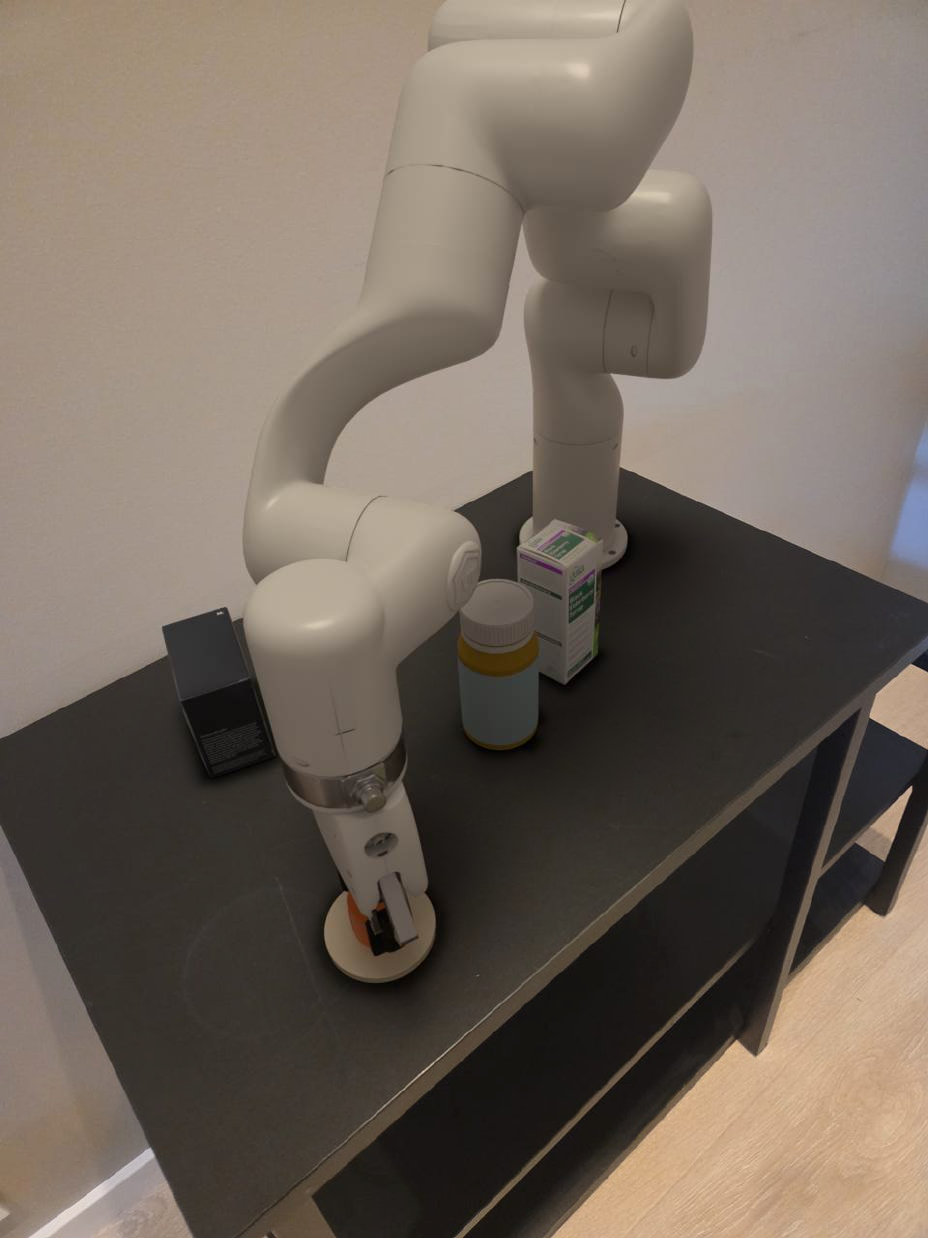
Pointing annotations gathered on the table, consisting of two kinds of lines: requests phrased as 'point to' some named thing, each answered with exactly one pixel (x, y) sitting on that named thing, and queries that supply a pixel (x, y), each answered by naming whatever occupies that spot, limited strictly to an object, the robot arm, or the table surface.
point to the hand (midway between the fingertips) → (377, 910)
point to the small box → (217, 692)
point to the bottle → (498, 665)
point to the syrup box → (563, 595)
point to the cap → (359, 920)
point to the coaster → (360, 958)
